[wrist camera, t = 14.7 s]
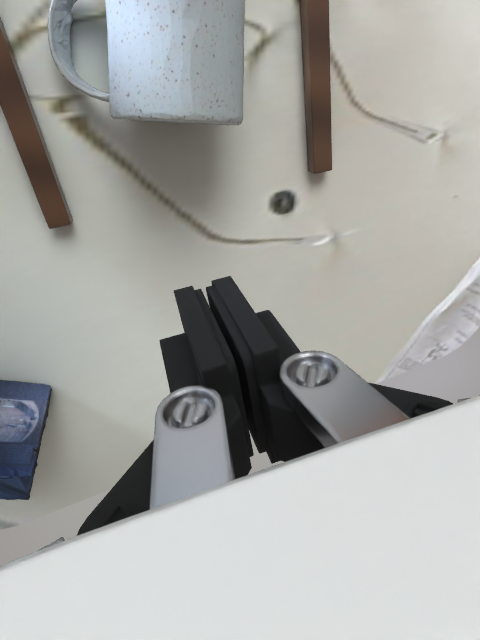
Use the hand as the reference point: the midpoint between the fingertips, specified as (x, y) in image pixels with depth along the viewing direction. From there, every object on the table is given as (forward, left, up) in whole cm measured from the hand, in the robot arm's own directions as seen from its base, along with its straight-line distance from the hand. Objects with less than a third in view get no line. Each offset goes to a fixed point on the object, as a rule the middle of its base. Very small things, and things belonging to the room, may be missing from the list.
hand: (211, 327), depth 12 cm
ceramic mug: (-6, +6, -21) cm, 22 cm away
